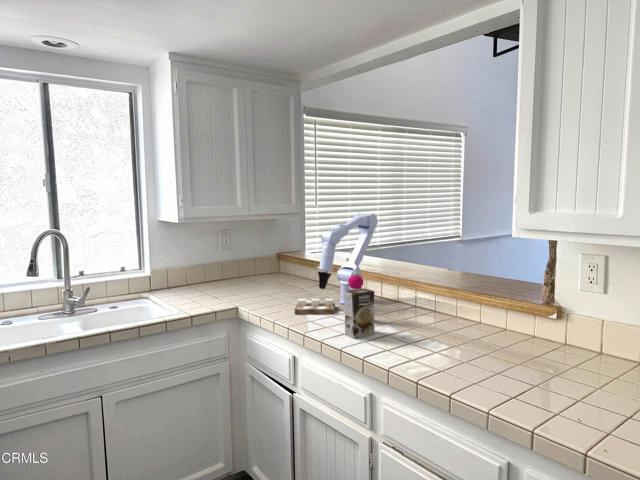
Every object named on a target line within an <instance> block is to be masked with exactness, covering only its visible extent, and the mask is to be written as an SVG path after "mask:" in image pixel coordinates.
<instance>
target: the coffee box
mask: <svg viewBox="0 0 640 480" xmlns="http://www.w3.org/2000/svg"><path fill="white" fill-rule="evenodd" d="M344 334H345V335H346V336H349V337H351V338H352V339H356V338H363V337H369V336H372V335H375V290H372V289H367V288H362V289H357V290H349V291H345V304H344Z"/></svg>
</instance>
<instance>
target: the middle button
mask: <svg viewBox="0 0 640 480" xmlns="http://www.w3.org/2000/svg"><path fill="white" fill-rule="evenodd" d="M311 303H312V306H319V303H320V298H311Z"/></svg>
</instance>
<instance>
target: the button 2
mask: <svg viewBox="0 0 640 480" xmlns="http://www.w3.org/2000/svg"><path fill="white" fill-rule="evenodd" d="M324 303H325V306H333V303H334V299H333V298H325V301H324Z"/></svg>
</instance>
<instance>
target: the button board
mask: <svg viewBox="0 0 640 480" xmlns="http://www.w3.org/2000/svg"><path fill="white" fill-rule="evenodd" d="M335 311H336V302H333V306H325V302H319V306H312V302H306V306H298V302H297V303H296V306H295V308H294V315H335Z"/></svg>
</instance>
